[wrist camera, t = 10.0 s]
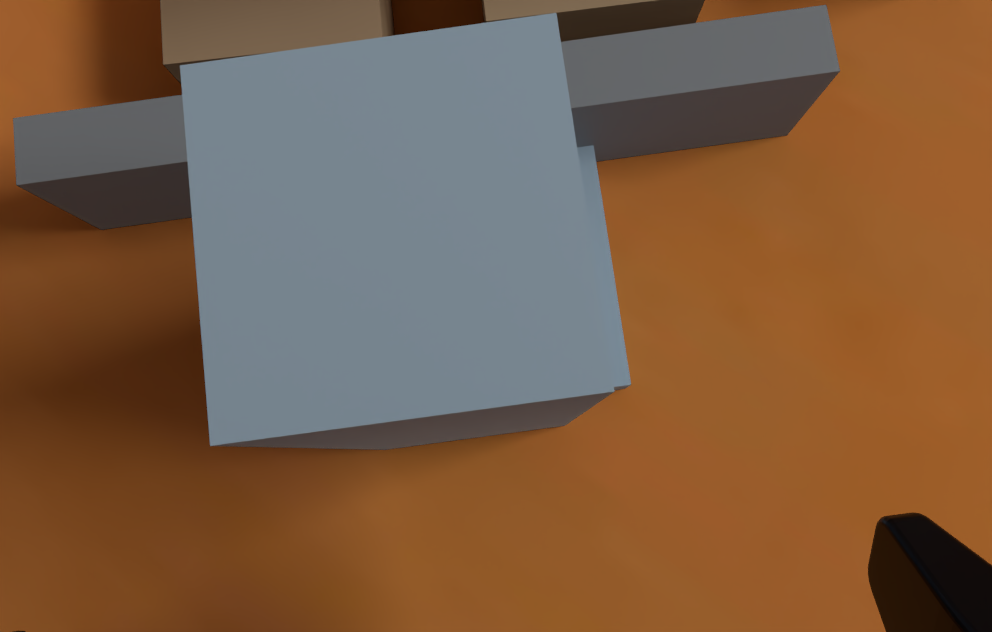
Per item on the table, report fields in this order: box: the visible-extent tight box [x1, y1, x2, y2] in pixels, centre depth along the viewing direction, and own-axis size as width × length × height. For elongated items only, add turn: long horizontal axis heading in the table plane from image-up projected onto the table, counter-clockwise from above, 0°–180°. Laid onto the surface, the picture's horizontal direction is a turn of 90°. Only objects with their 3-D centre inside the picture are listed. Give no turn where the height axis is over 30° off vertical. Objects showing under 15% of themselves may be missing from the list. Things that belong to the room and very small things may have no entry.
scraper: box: [13, 5, 840, 450], centre depth 13 cm, size 6×14×10 cm, turn 98°
